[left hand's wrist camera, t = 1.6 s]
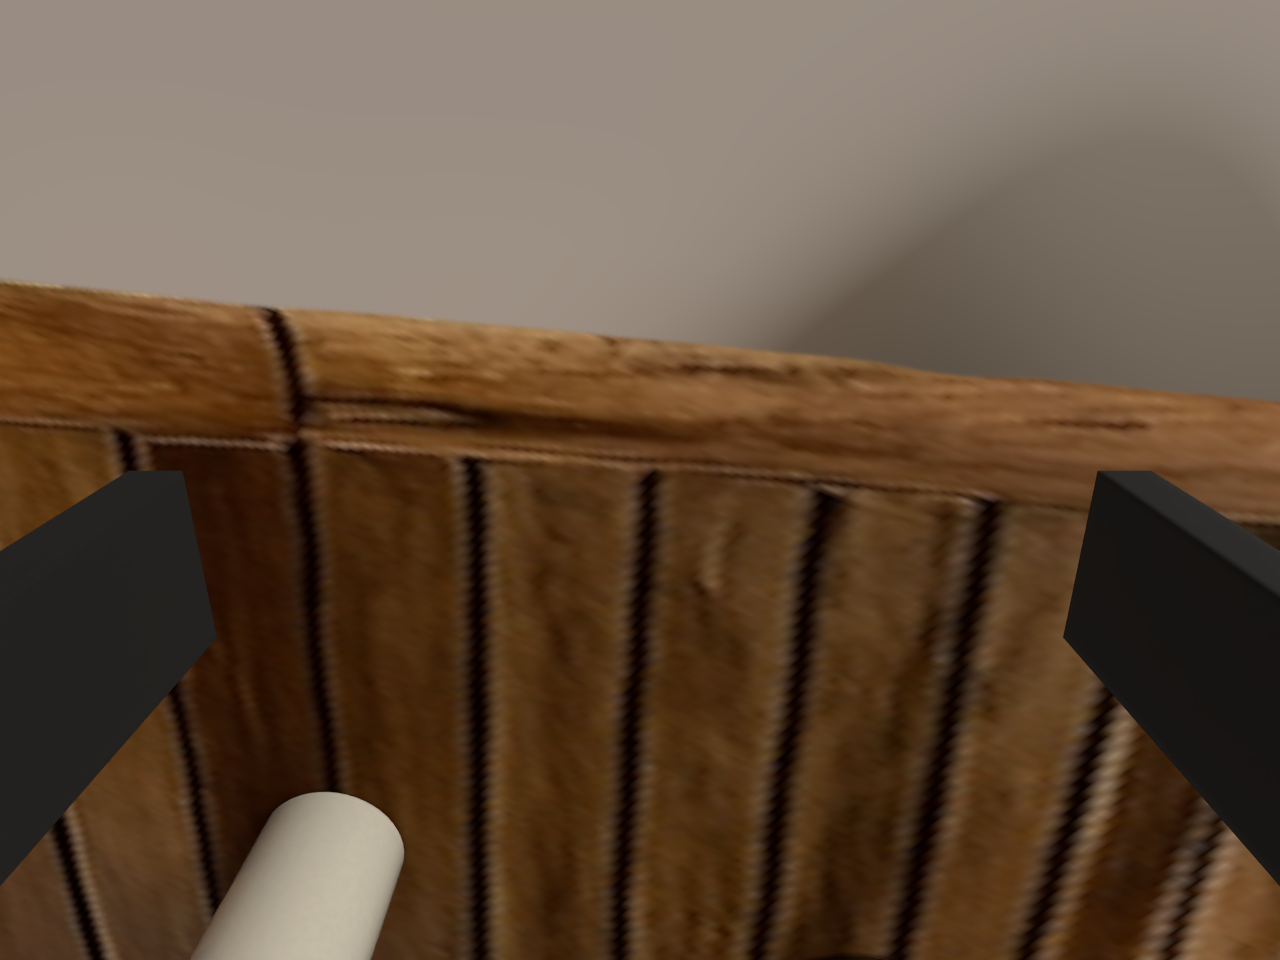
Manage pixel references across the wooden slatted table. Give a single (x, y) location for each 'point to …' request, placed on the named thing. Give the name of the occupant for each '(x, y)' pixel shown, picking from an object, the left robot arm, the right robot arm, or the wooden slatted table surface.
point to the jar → (310, 885)
